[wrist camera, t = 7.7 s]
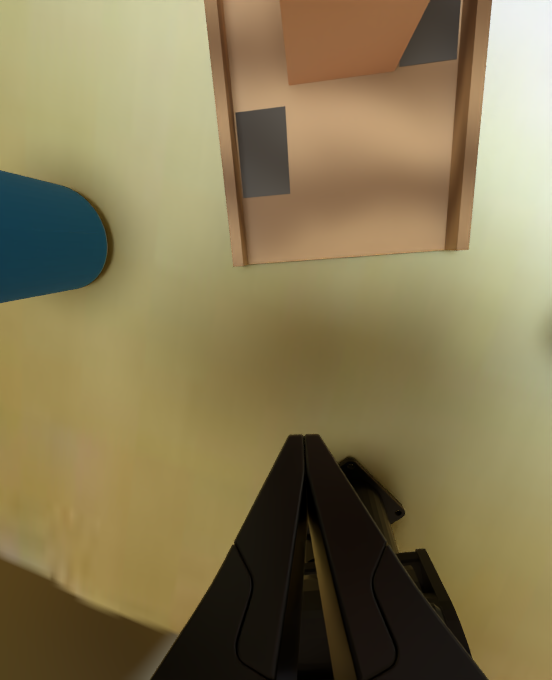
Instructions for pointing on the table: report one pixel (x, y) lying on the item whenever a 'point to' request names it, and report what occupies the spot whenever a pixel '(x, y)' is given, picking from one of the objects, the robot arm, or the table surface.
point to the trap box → (348, 139)
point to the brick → (346, 36)
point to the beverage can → (46, 238)
